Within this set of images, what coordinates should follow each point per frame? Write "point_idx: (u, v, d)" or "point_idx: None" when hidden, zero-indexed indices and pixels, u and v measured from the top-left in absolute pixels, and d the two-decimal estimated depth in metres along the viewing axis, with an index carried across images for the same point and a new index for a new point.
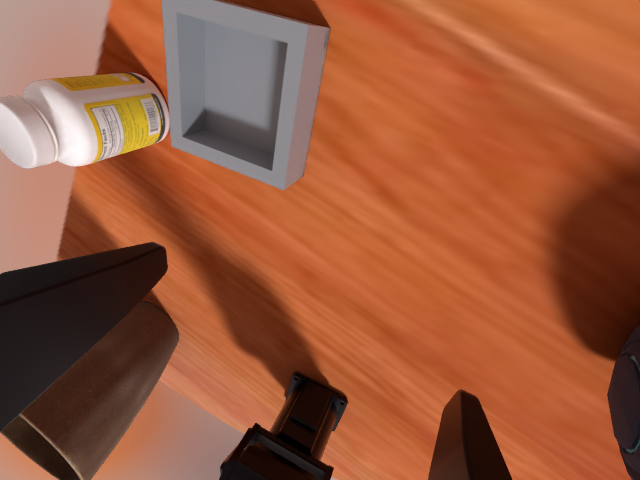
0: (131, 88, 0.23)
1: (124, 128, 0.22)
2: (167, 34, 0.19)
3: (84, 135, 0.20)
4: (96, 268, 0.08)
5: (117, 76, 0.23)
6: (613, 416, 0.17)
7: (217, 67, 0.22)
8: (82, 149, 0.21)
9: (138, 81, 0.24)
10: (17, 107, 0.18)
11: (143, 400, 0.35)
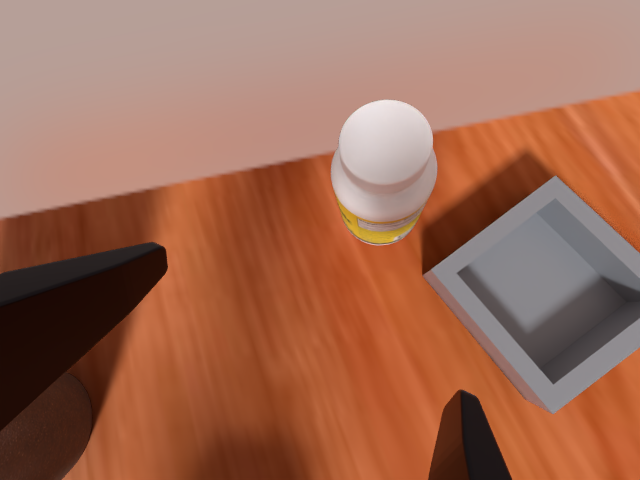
0: None
1: (413, 220, 0.18)
2: (529, 202, 0.19)
3: (420, 201, 0.16)
4: (96, 268, 0.08)
5: None
6: None
7: (512, 247, 0.21)
8: (402, 209, 0.15)
9: None
10: None
11: None
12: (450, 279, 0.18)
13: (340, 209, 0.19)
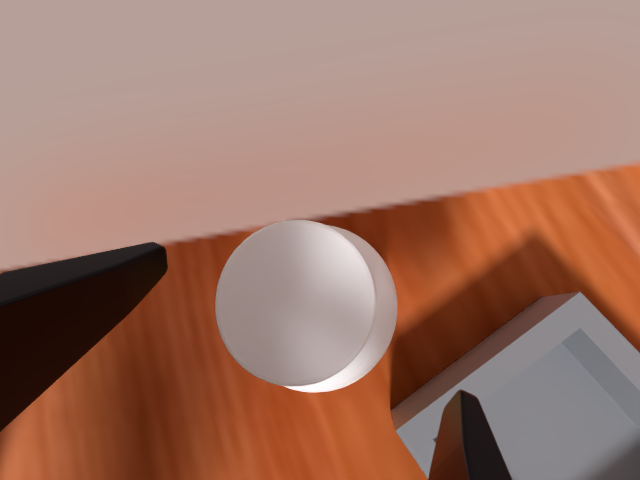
0: None
1: None
2: (541, 331, 0.13)
3: (368, 370, 0.10)
4: (96, 268, 0.08)
5: None
6: None
7: (516, 381, 0.15)
8: (336, 384, 0.09)
9: None
10: None
11: None
12: (423, 449, 0.12)
13: None
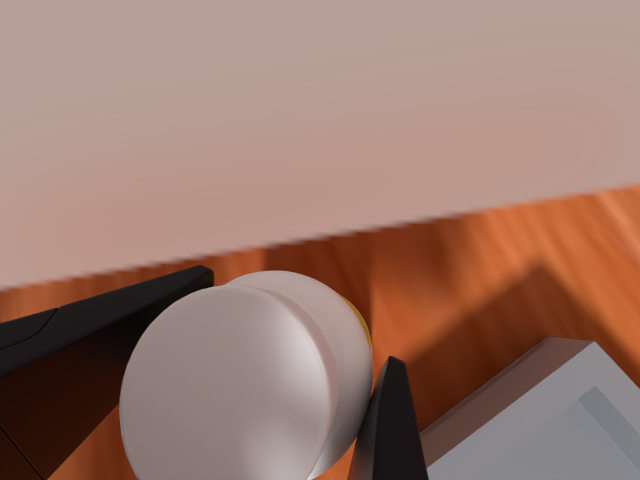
0: None
1: None
2: (548, 389, 0.11)
3: (332, 464, 0.08)
4: (152, 297, 0.08)
5: (361, 317, 0.13)
6: None
7: None
8: None
9: (370, 336, 0.14)
10: (331, 376, 0.06)
11: None
12: None
13: None
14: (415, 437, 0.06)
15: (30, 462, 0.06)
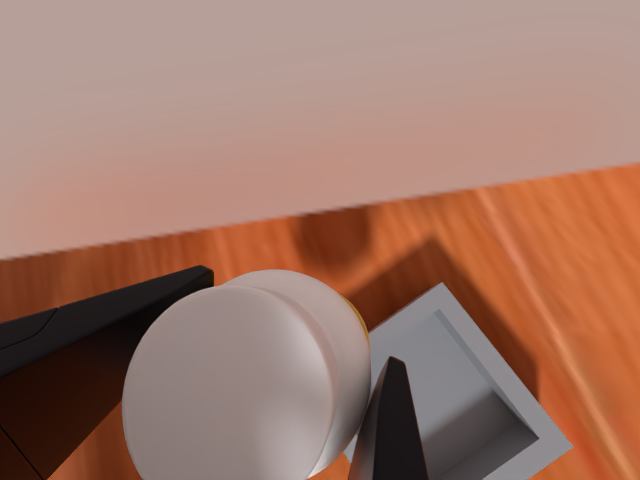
0: None
1: None
2: (411, 310, 0.17)
3: (332, 461, 0.08)
4: (151, 297, 0.08)
5: (359, 315, 0.13)
6: None
7: (404, 349, 0.19)
8: None
9: None
10: (332, 375, 0.06)
11: None
12: None
13: None
14: (415, 437, 0.06)
15: (30, 462, 0.06)
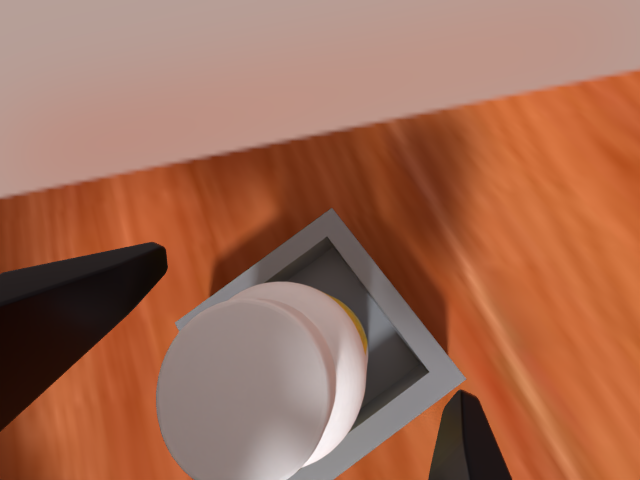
0: None
1: None
2: (297, 240, 0.15)
3: (331, 449, 0.09)
4: (96, 268, 0.08)
5: (358, 321, 0.14)
6: None
7: None
8: None
9: (366, 338, 0.15)
10: (330, 375, 0.07)
11: None
12: None
13: None
14: None
15: None
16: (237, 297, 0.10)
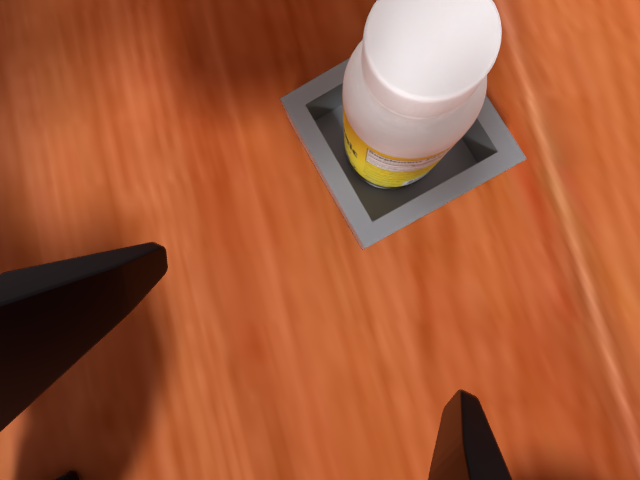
0: None
1: (434, 162, 0.15)
2: None
3: (455, 137, 0.12)
4: (96, 268, 0.08)
5: None
6: None
7: None
8: (430, 143, 0.12)
9: None
10: None
11: None
12: (297, 110, 0.17)
13: (346, 136, 0.15)
14: None
15: None
16: None
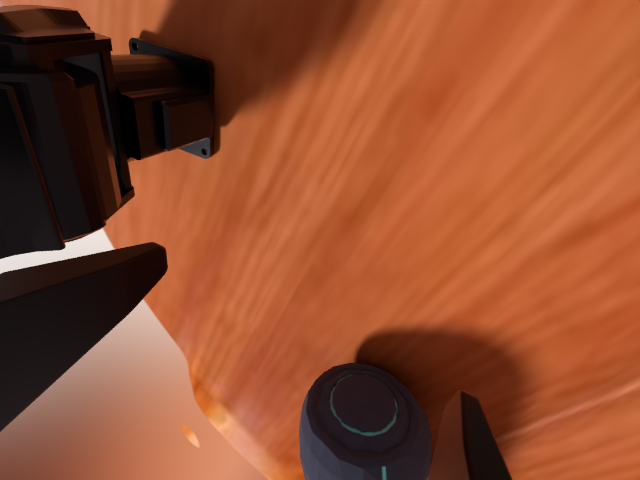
0: None
1: None
2: None
3: None
4: (96, 268, 0.08)
5: None
6: (349, 396, 0.23)
7: None
8: None
9: None
10: None
11: None
12: None
13: None
14: None
15: None
16: None
